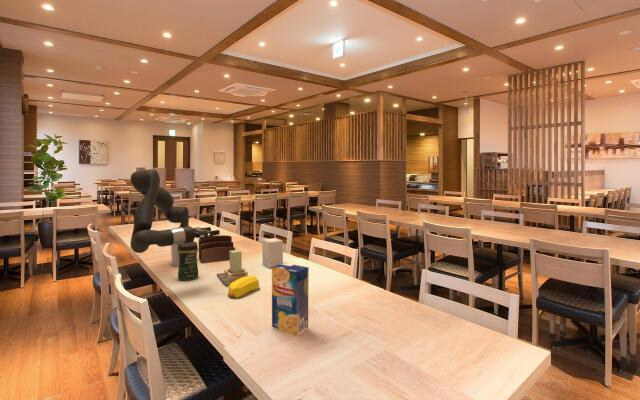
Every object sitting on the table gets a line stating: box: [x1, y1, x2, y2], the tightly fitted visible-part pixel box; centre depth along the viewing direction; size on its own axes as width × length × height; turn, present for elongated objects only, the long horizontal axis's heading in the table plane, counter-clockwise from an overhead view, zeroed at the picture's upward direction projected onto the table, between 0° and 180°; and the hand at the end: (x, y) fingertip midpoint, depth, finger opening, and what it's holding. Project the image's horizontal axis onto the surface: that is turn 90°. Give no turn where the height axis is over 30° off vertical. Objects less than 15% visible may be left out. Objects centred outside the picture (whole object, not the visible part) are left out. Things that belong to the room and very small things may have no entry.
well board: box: [216, 266, 249, 287], centre depth 178 cm, size 18×13×4 cm
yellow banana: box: [227, 274, 260, 299], centre depth 160 cm, size 18×7×8 cm
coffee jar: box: [177, 240, 199, 281], centre depth 178 cm, size 10×8×19 cm
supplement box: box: [261, 237, 284, 269], centre depth 202 cm, size 9×9×15 cm
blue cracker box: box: [271, 262, 310, 336], centre depth 125 cm, size 7×11×22 cm, turn 57°
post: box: [229, 249, 243, 274], centre depth 178 cm, size 4×4×13 cm
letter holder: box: [198, 234, 236, 264], centre depth 214 cm, size 10×20×14 cm, turn 117°
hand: (214, 230), depth 169 cm, fingers open, 8 cm apart
